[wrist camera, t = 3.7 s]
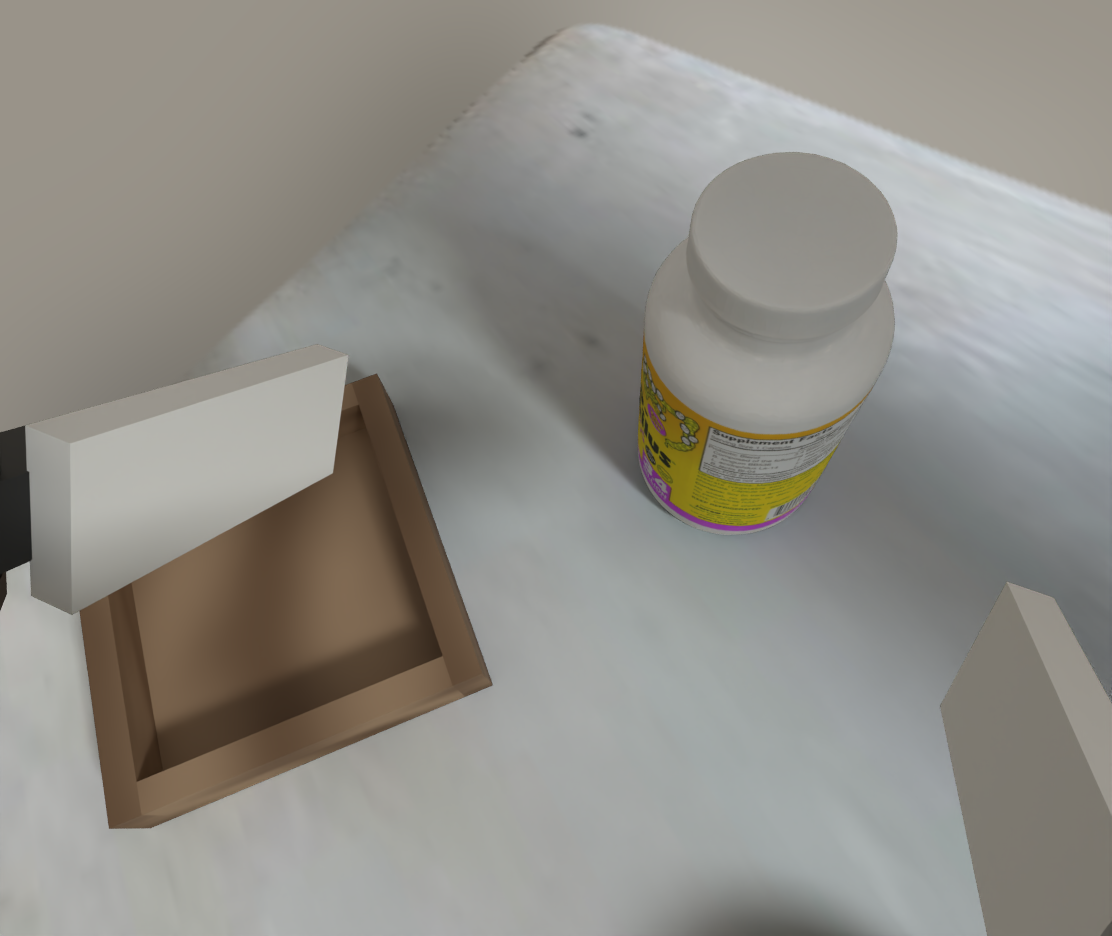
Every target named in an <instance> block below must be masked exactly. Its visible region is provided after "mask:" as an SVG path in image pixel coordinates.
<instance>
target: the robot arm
mask: <svg viewBox="0 0 1112 936" xmlns="http://www.w3.org/2000/svg"><path fill="white" fill-rule="evenodd" d="M348 356H349V355H347V354H344V353H341V352H338V351H335V350H333V349H330V348H327V347H324V346H321V345H318V344H316V345H313V346H309V347H305V348H302V349H298V350H295V351H291V352H287V353H284V354H280V355H277V356H273V357H269V358H266V359H262V360H259V361H255V362H251V363H248V364H244V365H241V366H237V367H233V368H230V369H226V370H223V371H219V372H215V373H212V374H208V375H205V376H201V377H197V378H194V379H190V380H187V381H183V382H179V383H176V384H172V385H169V386H165V387H161V388H158V389H154V390H151V391H147V392H144V393H140V394H136V395H133V396H129V397H125V398H122V399H118V400H115V401H111V402H107V403H104V404H100V405H97V406H93V407H89V408H86V409H82V410H79V411H75V412H72V413H68V414H64V415H61V416H57V417H53V418H50V419H47V420H43V421H39V422H35V423H32V424H28V425H25V426H22V427H18V428H15V429H11V430H8V431H4V432H0V610H1V608H2V605H3V602H4V600H5V597H6V595H7V583H6V571H9V570H11V569H13V568H15V567H18V566H20V565H22V564H24V563H26V562H29V561H30V577H31V596H33V597H35V598H37V599H39V600H41V601H43V602H46V603H48V604H50V605H52V606H54V607H56V608H58V609H61V610H63V611H65V612H67V613H69V614H71V615H73V614H74V613H76V612H78V611H80V610H82V609H84V608H85V607H87V606H89V605H91V604H93V603H95V602H96V601H98V600H100V599H102V598H104V597H106V596H108V595H109V594H111V593H113V592H115V591H117V590H119V589H120V588H122V587H124V586H126V585H128V584H130V583H131V582H133V581H135V580H137V579H139V578H141V577H143V576H144V575H146V574H148V573H150V572H152V571H154V570H155V569H157V568H159V567H161V566H163V565H165V564H166V563H168V562H170V561H172V560H174V559H176V558H178V557H179V556H181V555H183V554H185V553H187V552H189V551H190V550H192V549H194V548H196V547H198V546H200V545H201V544H203V543H205V542H207V541H209V540H211V539H213V538H214V537H216V536H218V535H220V534H222V533H224V532H225V531H227V530H229V529H231V528H233V527H235V526H236V525H238V524H240V523H242V522H244V521H246V520H248V519H249V518H251V517H253V516H255V515H257V514H259V513H260V512H262V511H264V510H266V509H268V508H270V507H271V506H273V505H275V504H277V503H279V502H281V501H283V500H284V499H286V498H288V497H290V496H292V495H294V494H295V493H297V492H299V491H301V490H303V489H305V488H306V487H308V486H310V485H312V484H314V483H316V482H318V481H319V480H321V479H323V478H325V477H327V476H329V475H330V474H332V473H333V468H334V461H335V453H336V446H337V438H338V431H339V424H340V416H341V409H342V401H343V394H344V386H345V379H346V371H347V364H348ZM940 708H941V713H942V718H943V723H944V728H945V732H946V737H947V742H948V747H949V752H950V757H951V762H952V766H953V771H954V776H955V781H956V786H957V791H958V796H959V800H960V805H961V810H962V815H963V820H964V825H965V830H966V835H967V839H968V844H969V849H970V854H971V859H972V864H973V869H974V873H975V878H976V883H977V888H978V893H979V898H980V903H981V907H982V912H983V917H984V922H985V927H986V932H987V936H1112V703H1111V701H1110V699H1109V698H1108V696H1107V694H1106V692H1105V690H1104V688H1103V687H1102V685H1101V683H1100V681H1099V679H1098V677H1097V676H1096V674H1095V672H1094V670H1093V668H1092V667H1091V665H1090V663H1089V661H1088V659H1087V657H1086V656H1085V654H1084V652H1083V650H1082V648H1081V646H1080V645H1079V643H1078V641H1077V639H1076V637H1075V635H1074V634H1073V632H1072V630H1071V628H1070V626H1069V625H1068V623H1067V621H1066V619H1065V617H1064V615H1063V614H1062V612H1061V610H1060V608H1059V606H1058V604H1057V603H1056V601H1055V599H1054V598H1053V597H1050V596H1047V595H1044V594H1041V593H1039V592H1036V591H1033V590H1030V589H1027V588H1024V587H1021V586H1018V585H1015V584H1012V583H1010V582H1006V584H1005V586H1004V588H1003V590H1002V592H1001V593H1000V595H999V597H998V599H997V601H996V603H995V605H994V606H993V608H992V610H991V612H990V614H989V616H988V618H987V620H986V621H985V623H984V625H983V627H982V629H981V631H980V633H979V634H978V636H977V638H976V640H975V642H974V644H973V646H972V647H971V649H970V651H969V653H968V655H967V657H966V659H965V661H964V662H963V664H962V666H961V668H960V670H959V672H958V674H957V675H956V677H955V679H954V681H953V683H952V685H951V687H950V689H949V690H948V692H947V694H946V696H945V698H944V700H943V702H942V703H941V705H940Z"/></svg>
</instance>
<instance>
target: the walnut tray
mask: <svg viewBox="0 0 1112 936" xmlns="http://www.w3.org/2000/svg"><path fill="white" fill-rule="evenodd" d="M80 618H81V625H82V633H83V640H84V647H85V655H86V662H87V670H88V677H89V684H90V692H91V699H92V706H93V714H94V721H95V728H96V736H97V743H98V751H99V758H100V765H101V773H102V780H103V787H104V795H105V802H106V809H107V817H108V824H109V829H119V828H152V827H154V826H157V825H159V824H162V823H164V822H166V821H169V820H171V819H174V818H176V817H178V816H181V815H183V814H186V813H188V812H190V811H193V810H195V809H198V808H200V807H202V806H205V805H207V804H209V803H212V802H214V801H217V800H219V799H221V798H224V797H226V796H229V795H231V794H233V793H236V792H238V791H241V790H243V789H245V788H248V787H250V786H253V785H255V784H257V783H260V782H262V781H265V780H267V779H269V778H272V777H274V776H276V775H279V774H281V773H284V772H286V771H288V770H291V769H293V768H296V767H298V766H300V765H303V764H305V763H308V762H310V761H312V760H315V759H317V758H320V757H322V756H324V755H327V754H329V753H332V752H334V751H336V750H339V749H341V748H343V747H346V746H348V745H351V744H353V743H355V742H358V741H360V740H363V739H365V738H367V737H370V736H372V735H375V734H377V733H379V732H382V731H384V730H387V729H389V728H391V727H394V726H396V725H399V724H401V723H403V722H406V721H408V720H411V719H413V718H415V717H418V716H420V715H422V714H425V713H427V712H430V711H432V710H434V709H437V708H439V707H442V706H444V705H446V704H449V703H451V702H454V701H456V700H458V699H461V698H463V697H466V696H468V695H470V694H473V693H475V692H478V691H480V690H482V689H485V688H487V687H489V686H492V685H493V684H492V681H491V678H490V676H489V673H488V670H487V667H486V664H485V662H484V659H483V656H482V653H481V650H480V648H479V645H478V642H477V639H476V636H475V634H474V631H473V628H472V625H471V622H470V619H469V617H468V614H467V611H466V608H465V605H464V603H463V600H462V597H461V594H460V591H459V589H458V586H457V583H456V580H455V577H454V574H453V572H452V569H451V566H450V563H449V560H448V558H447V555H446V552H445V549H444V546H443V544H442V541H441V538H440V535H439V532H438V529H437V527H436V524H435V521H434V518H433V515H432V513H431V510H430V507H429V504H428V501H427V499H426V496H425V493H424V490H423V487H422V484H421V482H420V479H419V476H418V473H417V470H416V468H415V465H414V462H413V459H412V456H411V454H410V451H409V448H408V445H407V442H406V439H405V437H404V434H403V431H402V428H401V425H400V423H399V420H398V417H397V414H396V411H395V409H394V406H393V403H392V401H391V399H390V397H389V396H388V394H387V392H386V390H385V388H384V386H383V384H382V382H381V381H380V379H379V377H378V375H377V374H374V375H372V376H369V377H366V378H363V379H361V380H358V381H355V382H353V383H350V384H347V385H345V386H344V394H343V401H342V409H341V416H340V424H339V431H338V438H337V446H336V453H335V461H334V468H333V473H332V474H330V475H329V476H327V477H325V478H323V479H321V480H319V481H318V482H316V483H314V484H312V485H310V486H308V487H306V488H305V489H303V490H301V491H299V492H297V493H295V494H294V495H292V496H290V497H288V498H286V499H284V500H283V501H281V502H279V503H277V504H275V505H273V506H271V507H270V508H268V509H266V510H264V511H262V512H260V513H259V514H257V515H255V516H253V517H251V518H249V519H248V520H246V521H244V522H242V523H240V524H238V525H236V526H235V527H233V528H231V529H229V530H227V531H225V532H224V533H222V534H220V535H218V536H216V537H214V538H213V539H211V540H209V541H207V542H205V543H203V544H201V545H200V546H198V547H196V548H194V549H192V550H190V551H189V552H187V553H185V554H183V555H181V556H179V557H178V558H176V559H174V560H172V561H170V562H168V563H166V564H165V565H163V566H161V567H159V568H157V569H155V570H154V571H152V572H150V573H148V574H146V575H144V576H143V577H141V578H139V579H137V580H135V581H133V582H131V583H130V584H128V585H126V586H124V587H122V588H120V589H119V590H117V591H115V592H113V593H111V594H109V595H108V596H106V597H104V598H102V599H100V600H98V601H96V602H95V603H93V604H91V605H89V606H87V607H85V608H84V609H82V610H80Z"/></svg>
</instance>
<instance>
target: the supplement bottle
mask: <svg viewBox="0 0 1112 936" xmlns="http://www.w3.org/2000/svg"><path fill="white" fill-rule="evenodd" d="M896 246H897V226H896V222H895V218H894V215H893V212H892V210H891V208H890V206H889V204H888V202H887V200H886V198H885V197H884V196H883V194H882V193H881V191H880V190H879V189H878V188H877V187H876V186H875V185H874V184H873V183H872V182H871V181H870V180H869V179H867V178H866V177H865V176H863V175H862V174H861V173H859V172H858V171H856V170H854V169H853V168H851V167H849V166H847V165H846V164H844V163H841V162H839V161H836V160H833V159H830V158H827V157H823V156H819V155H815V154H808V153H800V152H785V153H772V154H767V155H762V156H757V157H754V158H751V159H747V160H744V161H742V162H740V163H737V164H735V165H734V166H732V167H730V168H728V169H726V170H725V171H723V172H722V173H721V174H719V175H718V176H717V177H716V178H715V179H714V180H713V181H712V182H711V183H710V184H709V185H708V186H707V187H706V188H705V190H704V191H703V192H702V194H701V196H700V197H699V199H698V201H697V203H696V205H695V208H694V211H693V214H692V219H691V224H690V232H689V237H688V238H687V239H685V240H684V241H683V242H681V243H680V244H679V245H678V246H677V247H676V248H675V249H674V250H673V251H672V252H671V253H670V255H669V256H668V257H667V258H666V259H665V261H664V262H663V264H662V265H661V267H660V268H659V270H658V272H657V273H656V275H655V278H654V280H653V282H652V285H651V288H650V291H649V294H648V298H647V303H646V308H645V319H644V338H643V357H642V369H641V388H640V406H639V425H638V458H639V464H640V468H641V472H642V474H643V477H644V480H645V482H646V484H647V486H648V488H649V489H650V491H651V493H652V494H653V495H654V497H655V498H656V499H657V501H658V502H659V503H660V504H661V505H662V506H663V507H664V508H665V509H666V510H667V511H668V512H669V513H671V514H672V515H673V516H674V517H676V518H677V519H679V520H681V521H682V522H684V523H686V524H688V525H690V526H692V527H694V528H697V529H699V530H702V531H706V532H710V533H714V534H722V535H738V534H748V533H754V532H758V531H761V530H764V529H767V528H770V527H772V526H774V525H776V524H778V523H780V522H781V521H783V520H784V519H786V518H787V517H789V516H790V515H791V514H792V513H793V512H794V511H795V510H797V509H798V508H799V507H800V505H801V504H802V503H803V502H804V500H805V499H806V498H807V496H808V495H809V493H810V492H811V491H812V489H813V487H814V486H815V484H816V482H817V481H818V479H819V477H820V476H821V474H822V472H823V471H824V469H825V467H826V465H827V464H828V462H829V460H830V458H831V457H832V455H833V453H834V452H835V450H836V448H837V446H838V445H839V443H840V441H841V440H842V438H843V436H844V434H845V433H846V431H847V429H848V427H849V426H850V424H851V422H852V421H853V419H854V417H855V416H856V414H857V412H858V411H859V409H860V407H861V405H862V404H863V402H864V401H865V399H866V397H867V396H868V394H869V392H870V391H871V390H872V388H873V386H874V384H875V382H876V381H877V379H878V377H879V376H880V374H881V372H882V370H883V368H884V366H885V364H886V362H887V359H888V356H889V353H890V350H891V347H892V342H893V337H894V327H895V318H894V308H893V302H892V298H891V295H890V291H889V288H888V286H887V284H886V282H885V278H886V275H887V273H888V271H889V268H890V266H891V264H892V262H893V259H894V255H895V252H896Z"/></svg>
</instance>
